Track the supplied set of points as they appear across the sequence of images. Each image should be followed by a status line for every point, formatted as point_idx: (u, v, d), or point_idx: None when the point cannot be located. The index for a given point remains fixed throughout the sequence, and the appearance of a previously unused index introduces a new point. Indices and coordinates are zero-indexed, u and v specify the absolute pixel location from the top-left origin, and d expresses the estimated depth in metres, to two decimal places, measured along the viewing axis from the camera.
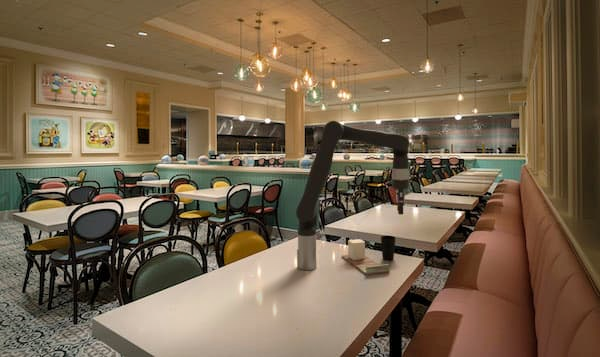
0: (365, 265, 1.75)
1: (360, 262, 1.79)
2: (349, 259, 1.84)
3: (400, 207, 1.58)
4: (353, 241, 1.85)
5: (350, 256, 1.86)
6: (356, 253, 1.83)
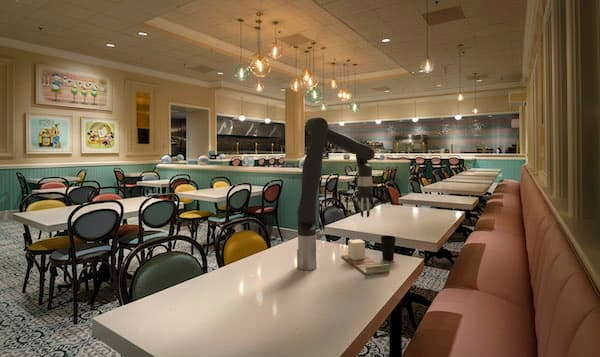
0: (365, 265, 1.75)
1: (360, 262, 1.79)
2: (349, 259, 1.84)
3: (369, 211, 1.84)
4: (353, 241, 1.85)
5: (350, 256, 1.86)
6: (356, 253, 1.83)
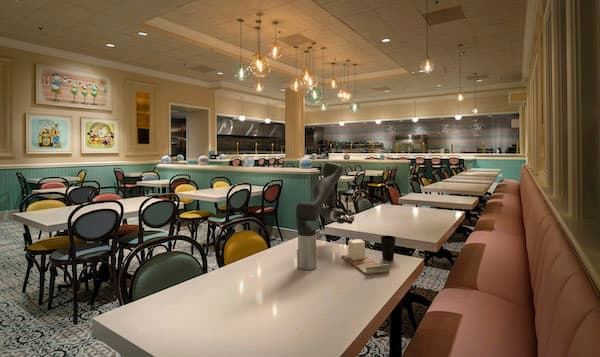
0: (365, 265, 1.75)
1: (360, 262, 1.79)
2: (349, 259, 1.84)
3: None
4: (353, 241, 1.85)
5: (350, 256, 1.86)
6: (356, 253, 1.83)
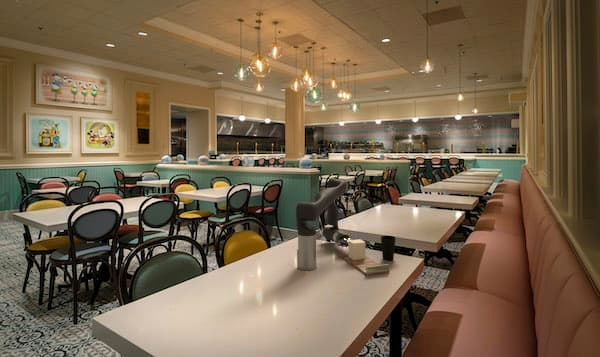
0: (365, 265, 1.75)
1: (360, 262, 1.79)
2: (349, 259, 1.84)
3: None
4: (353, 241, 1.85)
5: (350, 256, 1.85)
6: (356, 253, 1.83)
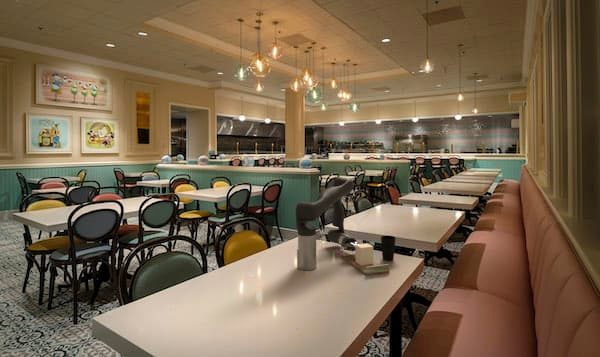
0: (365, 265, 1.75)
1: None
2: (349, 259, 1.84)
3: None
4: (360, 246, 1.77)
5: (358, 261, 1.77)
6: (364, 258, 1.75)
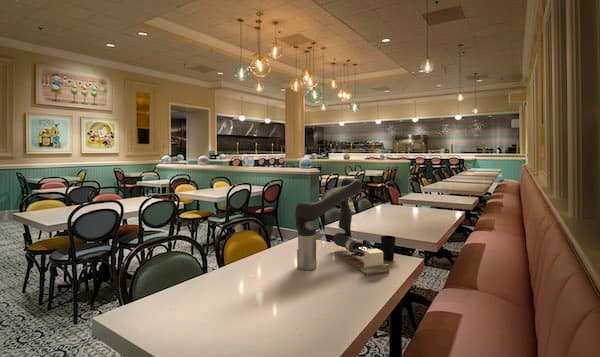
0: None
1: (360, 262, 1.79)
2: (349, 259, 1.84)
3: None
4: (369, 251, 1.68)
5: None
6: (373, 264, 1.65)
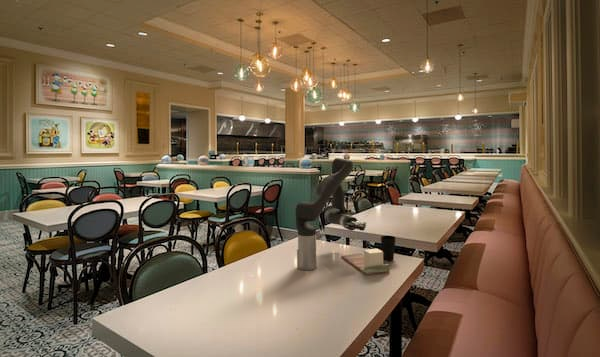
0: None
1: (360, 262, 1.79)
2: (349, 259, 1.84)
3: None
4: (369, 251, 1.68)
5: None
6: (373, 264, 1.66)
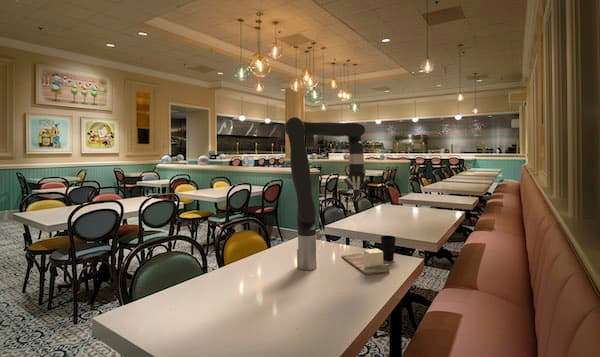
0: None
1: (360, 262, 1.79)
2: (349, 259, 1.84)
3: None
4: (369, 251, 1.68)
5: None
6: (373, 264, 1.66)
